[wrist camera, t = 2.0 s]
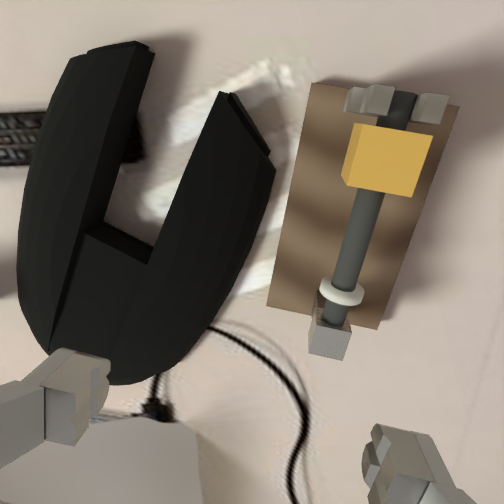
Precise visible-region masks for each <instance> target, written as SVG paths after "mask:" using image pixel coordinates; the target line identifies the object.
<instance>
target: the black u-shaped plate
mask: <svg viewBox="0 0 504 504" xmlns="http://www.w3.org/2000/svg"><path fill="white" fill-rule="evenodd" d="M148 48H149V47H148V46H146V45H144V44H141V43H139V42H137V41H130V42H124V43H118V44H113V45H108V46H103V47H99V48H95V49H92V50H89V51H88V52H87V54H83V55H79V56H76V57H73V58H70V60H69V62H68V64H67V66H66V68H65V70H64V72H63V74H62V76H61V78H60V80H59V83H58V85H57V87H56V89H55V91H54V93H53V95H52V97H51V100H50V103H49V106H48V109H47V112H46V114H45V117H44V120H43V123H42V126H41V129H40V132H39V134H38V137H37V140H36V143H35V147H34V151H33V155H32V159H31V163H30V167H29V171H28V175H27V180H26V184H25V188H24V194H23V201H22V208H21V215H20V222H19V229H18V247H17V285H18V298H19V303H20V307H21V310H22V312H23V314H24V316H25V318H26V320H27V322H28V324H29V326H30V329H31V331H32V333H33V335H34V337H35V338H36V340H37V342H38V343H39V344H40V346H41V347H42V349H43V350H44V351H45V352H46V353H47V354H48V355H49V356H50V355H51V354H52V353H54V352H55V351H56V350H57V349H59V348H66V349H70V350H74V351H77V352H78V351H79V352H83V353H87V354H90V355H94V356H98V357H102V358H105V359H108V360H109V361H110V362H111V364H110V372H109V373H108V374H107V376H106V378H107V379H108V381H109V385H130V384H134V383H138V382H142V381H144V380H146V379H148V378H150V377H151V376H153V375H155V374H158V373H162V372H165V371H167V370H169V369H171V368H172V367H174V366H175V365H176V364H177V363H178V362H179V361H180V360H181V359H182V358H183V357H184V356H185V355H186V354H187V353H188V352H189V351H190V349H191V348H192V347H193V346H194V344H195V343H196V342H197V340H198V339H199V338H200V337H201V335H202V334H203V333H204V331H205V330H206V329H207V327H208V326H209V325H210V323H211V322H212V320H213V319H214V317H215V315H216V314H217V312H218V310H219V309H220V307H221V306H222V304H223V302H224V301H225V299H226V297H227V296H228V294H229V292H230V291H231V289H232V287H233V285H234V283H235V281H236V279H237V277H238V274H239V272H240V270H241V268H242V266H243V264H244V262H245V260H246V258H247V256H248V254H249V252H250V249H251V247H252V244H253V242H254V239H255V236H256V233H257V231H258V228H259V225H260V223H261V220H262V217H263V214H264V212H265V209H266V206H267V203H268V200H269V196H270V192H271V189H272V185H273V181H274V177H275V173H276V169H275V167H274V166H273V164H272V163H271V161H270V159H269V158H268V156H269V154H270V152H271V151H270V149H269V147H268V146H267V144H266V142H265V141H264V139H263V137H262V136H261V134H260V133H259V131H258V129H257V128H256V126H255V124H254V123H253V121H252V119H251V118H250V116H249V115H248V113H247V111H246V110H245V108H244V106H243V105H242V103H241V101H240V100H239V98H238V97H237V95H236V94H234V93H231V92H230V93H229V94H228V93H225V92H221V91H219V93H218V95H217V97H216V100H215V102H214V104H213V106H212V109H211V111H210V113H209V115H208V118H207V120H206V122H205V124H204V127H203V129H202V131H201V134H200V136H199V138H198V141H197V143H196V145H195V148H194V150H193V152H192V155H191V157H190V159H189V162H188V164H187V166H186V169H185V171H184V174H183V176H182V179H181V181H180V184H179V186H178V189H177V191H176V194H175V196H174V199H173V201H172V204H171V206H170V209H169V211H168V214H167V216H166V219H165V221H164V224H163V226H162V229H161V231H160V234H159V236H158V239H157V241H156V244H155V246H154V247H152V246H150V245H148V244H146V243H144V242H142V241H140V240H138V239H136V238H134V237H132V236H131V235H129V234H127V233H125V232H123V231H121V230H119V229H117V228H115V227H113V226H111V225H109V224H107V223H105V222H103V219H104V216H105V213H106V210H107V206H108V203H109V200H110V197H111V193H112V190H113V187H114V184H115V181H116V177H117V174H118V171H119V168H120V165H121V161H122V158H123V155H124V152H125V149H126V145H127V142H128V139H129V136H130V133H131V129H132V126H133V123H134V120H135V117H136V113H137V110H138V107H139V104H140V100H141V97H142V94H143V91H144V88H145V84H146V81H147V78H148V75H149V72H150V68H151V65H152V62H153V59H154V56H155V53H152V52H150V51H148Z"/></svg>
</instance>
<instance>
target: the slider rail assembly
mask: <svg viewBox="0 0 504 504" xmlns="http://www.w3.org/2000/svg"><path fill="white" fill-rule="evenodd" d="M394 90H395V87H392V86H385V85H379V84H374V85H372V86H370V87H367V88H360V87H353V88H351V89H349V88H343V87H337V86H330V85H324V84H318V83H311V88H310V93H309V98H308V103H307V108H306V113H305V118H304V122H303V127H302V132H301V137H300V142H299V147H298V152H297V157H296V162H295V167H294V172H293V177H292V182H291V186H290V191H289V196H288V201H287V206H286V211H285V216H284V221H283V226H282V231H281V236H280V241H279V245H278V250H277V255H276V260H275V265H274V270H273V275H272V280H271V285H270V290H269V295H268V300H267V305H266V306H269V307H273V308H278V309H283V310H287V311H292V312H297V313H301V314H306V315H310V316H312V306H313V302H314V298H315V294H316V291H317V290H319V288H320V285H321V281H322V279H323V278H324V277H326V276H333V274H334V270H335V267H336V263H337V260H338V256H339V253H340V249H341V246H342V242H343V239H344V235H345V232H346V228H347V225H348V221H349V218H350V214H351V211H352V207H353V203H354V200H355V196H356V193H357V189H358V187H352V186H347V185H346V183H345V182H344V180H343V178H342V176H341V172H342V168H343V165H344V161H345V157H346V153H347V149H348V145H349V141H350V138H351V134H352V130H353V126H354V123H359V124H366V125H372V126H376V122H377V119H378V116H387V114H388V110H389V107H390V103H391V100H392V97H393V93H394ZM449 97H450V96H448V95H441V94H435V93H424V94H419V95H417V96H416V99H415V102H414V105H413V108H412V111H411V115H410V118H409V121H408V124H407V127H406V130H405V131H407V132H413V133H419V134H425V135H431V136H433V138H432V141H431V144H430V147H429V149H428V152H427V155H426V158H425V161H424V164H423V167H422V169H421V172H420V175H419V178H418V181H417V184H416V186H415V189H414V192H413V195H412V197H406V196H401V195H395V194H390V193H385V196H384V199H383V202H382V206H381V209H380V212H379V215H378V218H377V221H376V224H375V228H374V231H373V234H372V237H371V240H370V243H369V246H368V249H367V253H366V256H365V259H364V262H363V265H362V268H361V271H360V275H359V278H358V281H357V283H358V284H359V285H361V286H362V287H363V289H364V295H363V298H362V301H361V303H360V304H358V305H354V306H349V309H348V312H347V314H348V317H349V322H350V324H352V325H356V326H361V327H366V328H370V329H375V330H377V329H378V326H379V324H380V321H381V318H382V316H383V313H384V310H385V307H386V305H387V302H388V299H389V297H390V294H391V291H392V288H393V286H394V283H395V280H396V278H397V275H398V272H399V270H400V267H401V264H402V261H403V259H404V256H405V253H406V251H407V248H408V245H409V242H410V240H411V237H412V234H413V232H414V229H415V226H416V223H417V221H418V218H419V215H420V213H421V210H422V207H423V204H424V202H425V199H426V196H427V194H428V191H429V188H430V186H431V183H432V180H433V177H434V175H435V172H436V169H437V167H438V164H439V161H440V158H441V156H442V153H443V150H444V148H445V145H446V142H447V139H448V137H449V134H450V131H451V129H452V126H453V123H454V121H455V118H456V115H457V112H458V110H459V107H460V106H453V105H447V102H448V100H449Z"/></svg>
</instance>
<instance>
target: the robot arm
mask: <svg viewBox="0 0 504 504" xmlns="http://www.w3.org/2000/svg"><path fill="white" fill-rule="evenodd" d="M110 364H111V362H110V361H109V360H108V359H105V358H102V357H98V356H94V355H90V354H87V353H83V352H79V351H78V352H77V351H74V350H70V349H66V348H59V349H57V350H56V351H55V352H54V353H52V354H51V355H50V356H49V357H48V358H47V359H46V360H44V361H43V362H42V363H41V364H40V365H39V366H38V367H36V368H35V369H34V370H33V371H32V372H31V373H30V374H28V375H27V376H26V377H25V378H24V379H23V380H22V381H16V380H15V381H12V382H9V383H6V384H4V385H1V386H0V469H1V468H2V467H4V466H6V465H7V464H9V463H11V462H12V461H14V460H16V459H17V458H19V457H20V456H22V455H24V454H25V453H27V452H29V451H30V450H32V449H33V448H35V447H37V446H38V445H40V444H42V443H43V442H44V440H47V441H51V442H55V443H60V444H65V445H70V446H75V445H76V444H77V442H78V441H79V439H80V438H81V437H82V435H83V434H84V433H85V431H86V430H87V428H88V425H89V419H90V418H92V417H94V416H96V415H97V414H98V413H99V411H100V410H101V409H102V407H103V405H104V403H105V400H106V398H107V395H108V391H109V381H108V379H107V378H106V376H107V374H108V373H109V372H110ZM371 437H372V440H373V441H371V442H370V443H368V444H366V446H365V449H364V452H363V456H362V473H363V478H364V481H365V483H366V484H367V485H368V486H369V488H370V492H369V494H368V496H367V497H368V501H369V504H477V503H476V502H474V501H473V500H472V499H471V498H470V497H469V496H468V495H467V494H466V493H465V492H464V491H463V490H462V489H458V488H456V486H455V484H454V482H453V480H452V478H451V476H450V474H449V472H448V470H447V468H446V466H445V464H444V462H443V460H442V458H441V456H440V454H439V452H438V450H437V448H436V446H435V443H434V441H433V439H432V438H431V437H430V436H429V435H427V434H422V433H418V432H413V431H407V430H403V429H399V428H394V427H390V426H386V425H381V424H377V423H376V424H375V425H374V426H373V429H372V431H371ZM0 504H12V503H9V502H5V501H1V500H0Z"/></svg>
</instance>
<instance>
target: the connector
mask: <svg viewBox="0 0 504 504" xmlns="http://www.w3.org/2000/svg"><path fill="white" fill-rule="evenodd" d="M326 299H327V298H325V297H324V296H323V295H322V294H321V293H320V290H317V291H316V294H315V298H314V302H313V306H312V322H311V325H310V329H309V333H308V348H309V353H310V354H314V355H319V356H323V357H327V358H332V359H336V360H341V361H343V358H344V355H345V352H346V349H347V346H348V343H349V340H350V337H351V334H352V331H351V326H350V322H349V317H348V314H347V315H346V319H345V322H344V324H343V325H342V326H333V325H330V324H328V323H326V322H325V321H324V320H323V319H322V313H323V309H324V306H325V302H326Z"/></svg>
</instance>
